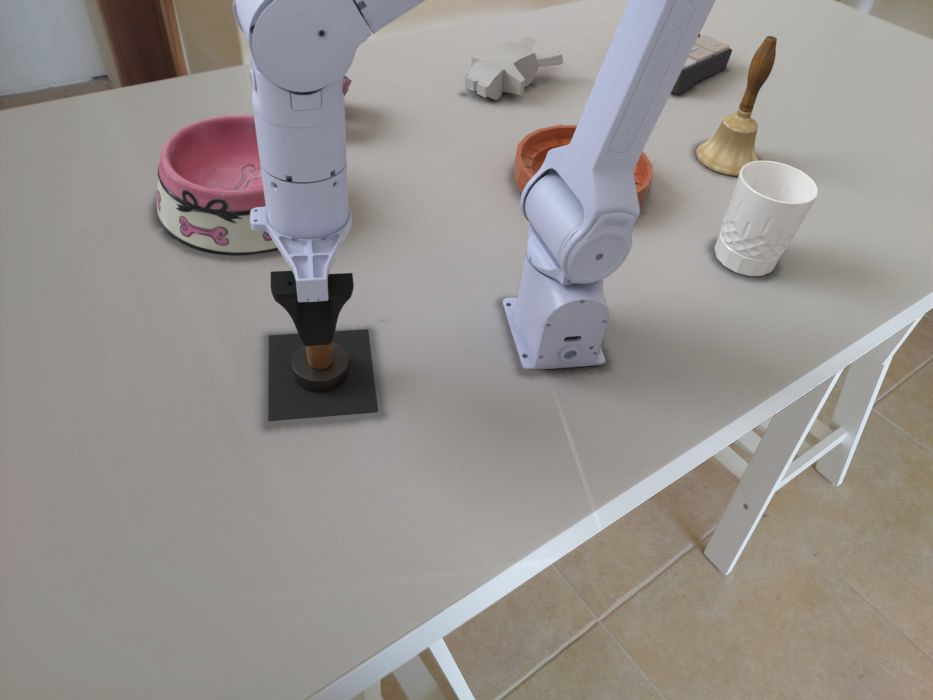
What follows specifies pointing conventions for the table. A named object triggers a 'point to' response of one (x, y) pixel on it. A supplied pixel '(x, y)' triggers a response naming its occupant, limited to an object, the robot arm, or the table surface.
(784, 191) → the white cup
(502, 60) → the white lobed flat block
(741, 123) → the hand bell
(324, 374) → the coffee tamper
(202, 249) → the dog bowl
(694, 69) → the calculator
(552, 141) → the terracotta bowl
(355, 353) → the mat
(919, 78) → the table surface
